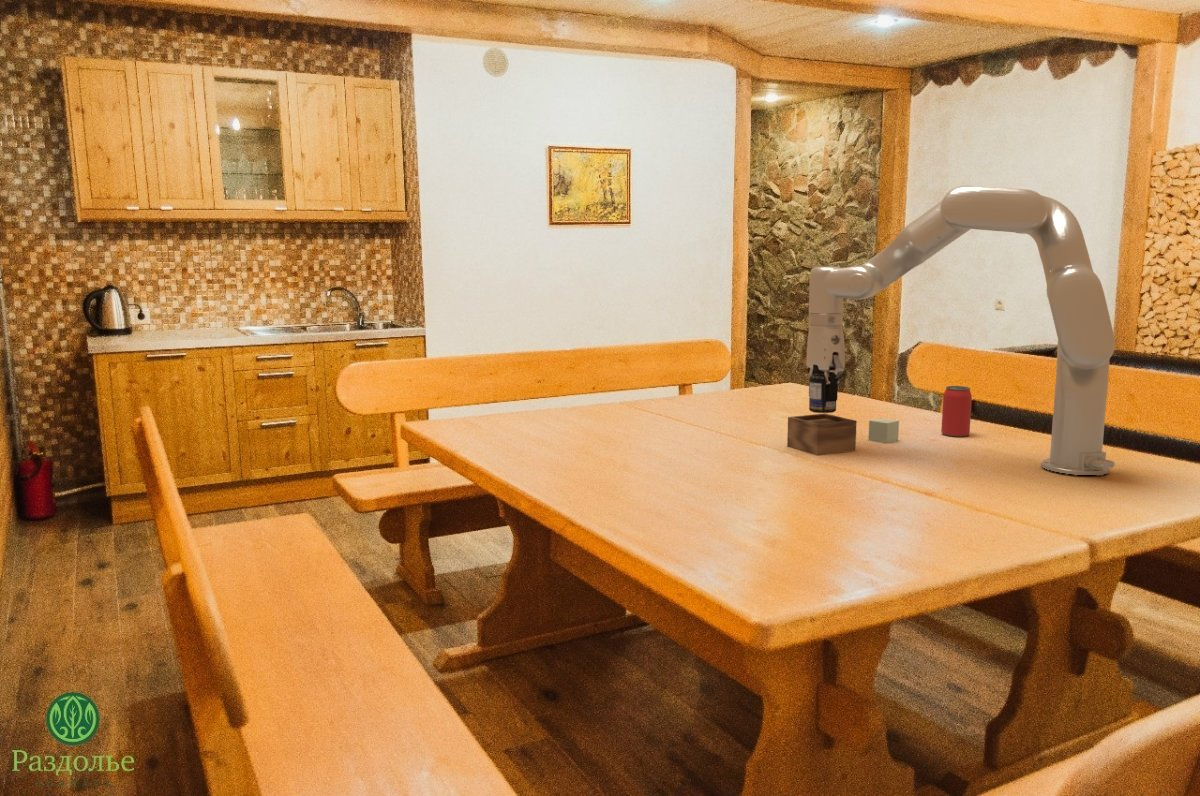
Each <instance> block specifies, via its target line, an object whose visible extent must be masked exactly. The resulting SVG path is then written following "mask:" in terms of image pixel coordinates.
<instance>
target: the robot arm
mask: <svg viewBox="0 0 1200 796" xmlns="http://www.w3.org/2000/svg"><path fill="white" fill-rule="evenodd" d="M971 230H977V231H978V230H979V231H992V232H1005V233H1015V234H1023V235H1025V234H1026V235H1029V236H1030V237H1031V238H1032V239H1033V240H1034V241H1035V243H1036V246H1037V249H1038V253H1039V258H1040V260H1041V265H1042V269H1043V272H1044V277H1045V278H1044V279H1045V282H1046V296H1047V300H1048V304H1049V308H1050V311H1051V315H1052V320H1053V324H1054V328H1055V332H1056V337H1057V346H1056V370H1055V371H1056V374H1055V389H1054V396H1053V397H1054V399H1053V410H1052V411H1053V412H1052V422H1051V423H1052V426H1051V427H1052V428H1051V439H1050V450H1049V451H1050V452H1049V457H1048V458H1044V459H1042V460H1041V462H1040V463H1041V464H1040V466H1042V467H1041V468H1042V469H1044V468H1045V469H1044V470H1046V469H1047V470H1046V471H1049V470H1051V471H1050V472H1052V471H1055V472H1054V473H1056V472H1060V473H1059V474H1061V473H1067V474H1066V475H1068V474H1077V475H1101V476H1104V475H1103V474H1106V475H1108V474H1109V473H1110V469H1112V468H1114V467H1115V461H1114V460H1109V459H1106V458H1107V452H1106V451H1103V446H1104V437H1105V436H1104V435H1105V433H1104V432H1105V423H1106V408H1107V398H1108V389H1109V376H1110V375H1109V374H1110V358H1112V357H1113V354H1114V351H1115V347H1116V339H1115V335H1114V330H1113V326H1112V322H1111V316H1110V312H1109V309H1108V304H1107V300H1106V299H1107V298H1106V296H1105V291H1104V288H1103V287H1104V286H1103V284H1102V282H1101V279H1100V278H1099V276H1098V275H1097V274H1096V273H1095V272H1094V269H1093V265H1092V262H1091V258H1090V255H1089V251H1088V247H1087V244H1086V240H1085V237H1084V234H1083V231H1082V230H1083V229H1082V227H1081V224H1080V223H1079V221H1078V219H1077V217H1076V216H1075V214H1074V213H1073V212H1072V211H1071V210H1070V209H1069V208H1068V206H1065V204H1063V203H1061V202H1060V201H1058V200H1056V199H1054V198H1052V197H1049V196H1046V195H1041V194H1040V193H1039V192H1037V191H1034V190H1032V189H1025V188H1024V189H1022V188H1007V187H986V186H974V185H973V186H972V185H960V186H956V187H954V188H952V189H951V190H949V191H948V192H947V193H945V195H944V196H943V199H942V200H940V201H939V202H938V203H936V204H935V205H934V206H933V207H931V208H930V209H928V210H927V211H926V212H924V213H923V214H921V215H920V216H918V217H917V218H915V220H913V221H912V222H910V223H909V224H907V225H906V226H904V227H903V228H902V229H901V230H900V231H899V233H898V234H897V235H896V236H895V238H894V239H893V240H892V241H891V242H890V243H889V244H888V245H887V246H886V247H885V248H883V249H881V250H880V251H879V252H878V253H876V254H875V255H874V256H872V258H869V259H868V260H867V261H865V262H864V263H863V264H859V265H856V266H855V265H854V266H847V267H840V266H815V267H813V268H812V269H811V270H810V272H809V288H808V289H809V293H808V295H809V296H808V301H809V302H808V326H807V327H808V334H807V343H806V360H805V366H806V368H807V370H806V371H807V373H808V376H807V378H808V380H809V381H808V382H809V383H808V394H809V393H810V376H811V375H812V374H814V370H813V364H815V365H818V368H819V370H821V371H824V374H825V380H826V384H824V401H826V402H828V401H836V402H837V401H838V392H839V391H838V388H839V387H838V386H839V383H840V379H841V378H842V377H841V376H842V375H843V373H844V371H845V370H844V369H845V366H846V364H845V361H846V358H845V357H846V353H845V352H846V350H845V336H844V331H843V330H844V329H843V315H844V314H843V311H844V310H843V309H844V307H843V306H844V299H850V300H855V301H856V300H857V301H858V300H859V301H861V300H866V299H869V298H872V297H874V296H876V295H878V294H879V293H880V292H882V291H883V290H885V289H886V288H887V287H889V286H890V285H892V284H893V283H894V282H896V281H897V280H899V279H900V278H902V277H903V276H905V275H906V274H907V273H908V272H910V271H911V270H913V269H915V268H917V267H919V266H921V264H923V263H925V262H926V261H927V260H929V259H930V258H931V257H933V256H935V255H936V254H937V253H939V252H940V251H942V250H943V249H944V248H945V247H947V246H948V245H950V244H951V243H954V241H956V240H957V239H959V238H960V237H962V236H963V235H964V234H966V233H967V232H969V231H971ZM830 368H833V370H829V369H830ZM829 374H832V375H831V376H829ZM1107 473H1108V474H1107ZM1077 475H1076V476H1077Z"/></svg>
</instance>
